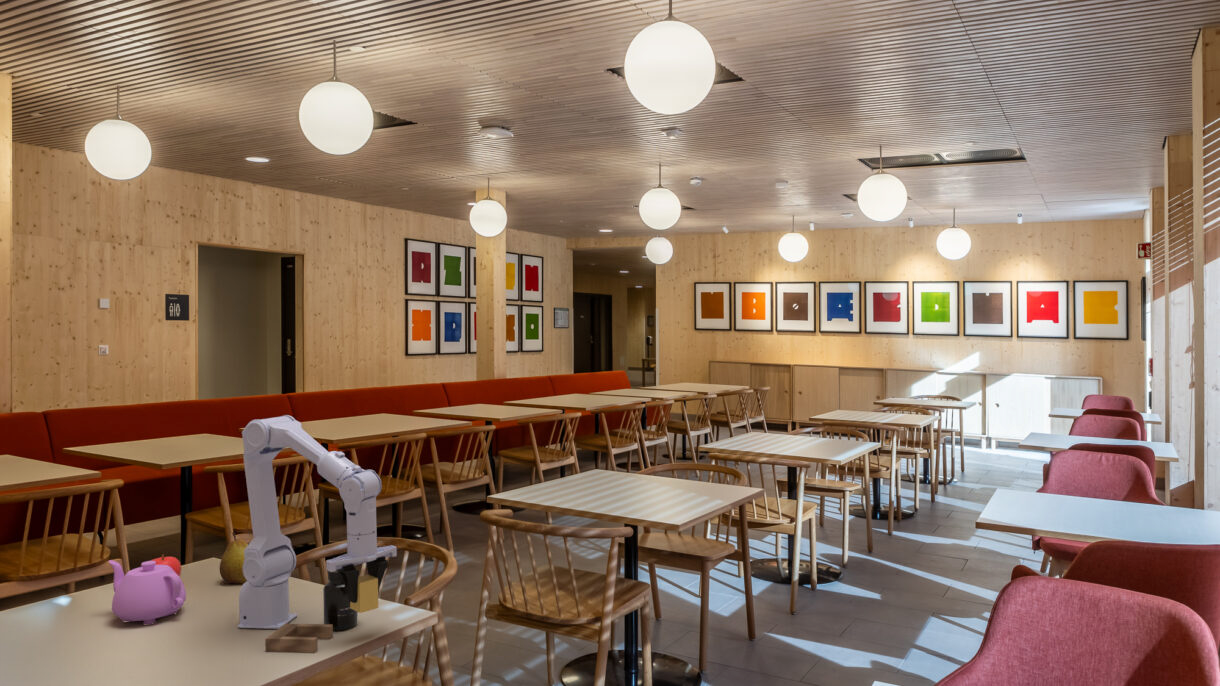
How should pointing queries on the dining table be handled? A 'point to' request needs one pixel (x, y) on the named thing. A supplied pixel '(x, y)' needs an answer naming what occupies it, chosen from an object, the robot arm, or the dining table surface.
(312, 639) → the wooden u-shaped bracket
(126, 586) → the teapot
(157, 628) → the dining table surface
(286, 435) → the robot arm
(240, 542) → the fruit
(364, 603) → the block
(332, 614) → the supplement bottle
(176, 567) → the apple
